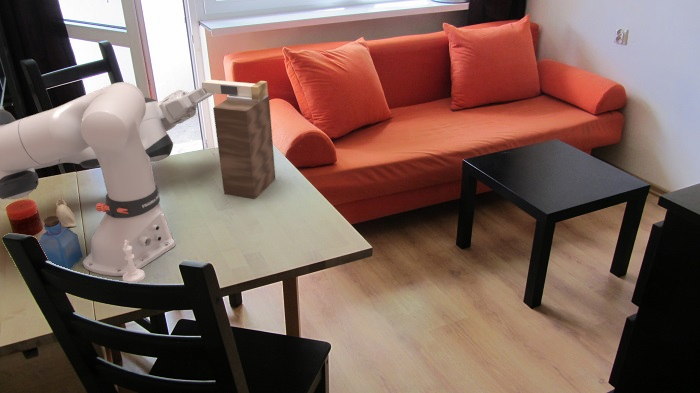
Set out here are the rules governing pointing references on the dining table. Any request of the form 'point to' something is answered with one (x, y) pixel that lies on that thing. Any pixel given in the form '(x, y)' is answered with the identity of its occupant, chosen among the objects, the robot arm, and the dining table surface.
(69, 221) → the decorative ornament
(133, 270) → the chess piece
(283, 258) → the dining table surface
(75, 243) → the perfume bottle
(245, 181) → the wooden block tower
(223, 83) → the bar
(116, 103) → the robot arm
